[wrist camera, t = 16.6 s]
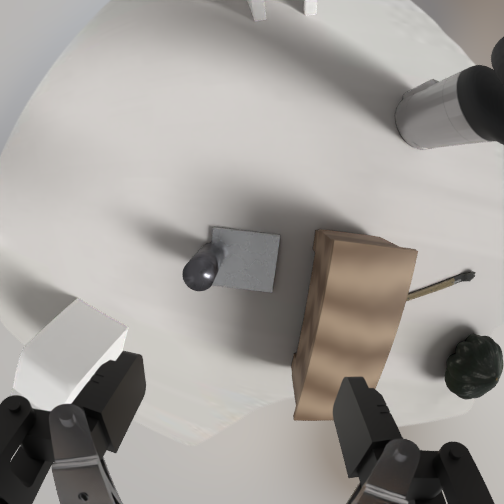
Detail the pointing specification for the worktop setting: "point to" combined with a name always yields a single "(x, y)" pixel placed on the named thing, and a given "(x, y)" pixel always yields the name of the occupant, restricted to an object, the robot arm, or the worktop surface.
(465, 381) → the squash
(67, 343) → the milk
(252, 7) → the white bracket plate
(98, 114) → the worktop surface
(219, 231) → the joystick
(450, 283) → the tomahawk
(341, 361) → the cabinet
